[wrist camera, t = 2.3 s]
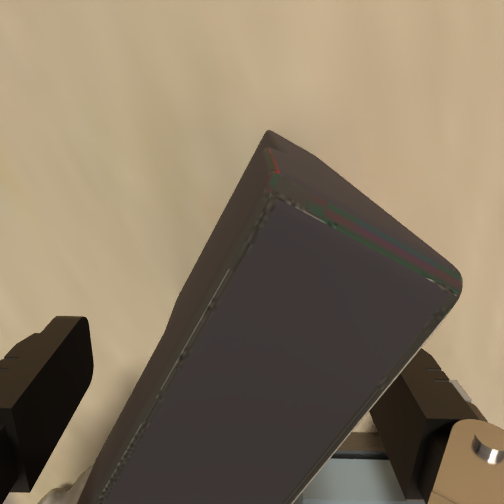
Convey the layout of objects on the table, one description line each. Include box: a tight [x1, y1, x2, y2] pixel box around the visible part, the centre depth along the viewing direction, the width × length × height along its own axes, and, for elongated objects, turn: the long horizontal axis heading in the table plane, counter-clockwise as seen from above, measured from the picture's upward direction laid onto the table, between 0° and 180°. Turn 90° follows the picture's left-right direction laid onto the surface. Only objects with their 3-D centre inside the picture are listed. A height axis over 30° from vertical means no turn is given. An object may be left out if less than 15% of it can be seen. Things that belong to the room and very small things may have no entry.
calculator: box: [77, 130, 462, 504], centre depth 14 cm, size 11×4×15 cm, turn 152°
